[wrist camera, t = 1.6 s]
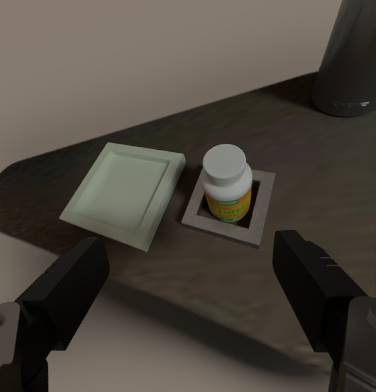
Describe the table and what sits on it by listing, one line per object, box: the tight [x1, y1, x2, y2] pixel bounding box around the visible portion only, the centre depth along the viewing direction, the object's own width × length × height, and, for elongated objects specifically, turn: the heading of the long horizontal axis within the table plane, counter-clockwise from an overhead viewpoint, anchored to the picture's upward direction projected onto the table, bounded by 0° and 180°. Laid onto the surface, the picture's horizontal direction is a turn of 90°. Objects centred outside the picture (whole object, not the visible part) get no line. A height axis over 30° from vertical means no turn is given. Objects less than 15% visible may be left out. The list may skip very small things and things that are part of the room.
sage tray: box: [59, 143, 186, 252], centre depth 31 cm, size 15×15×2 cm
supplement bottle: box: [201, 144, 252, 222], centre depth 23 cm, size 5×5×10 cm
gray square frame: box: [181, 167, 275, 249], centre depth 26 cm, size 10×10×2 cm
